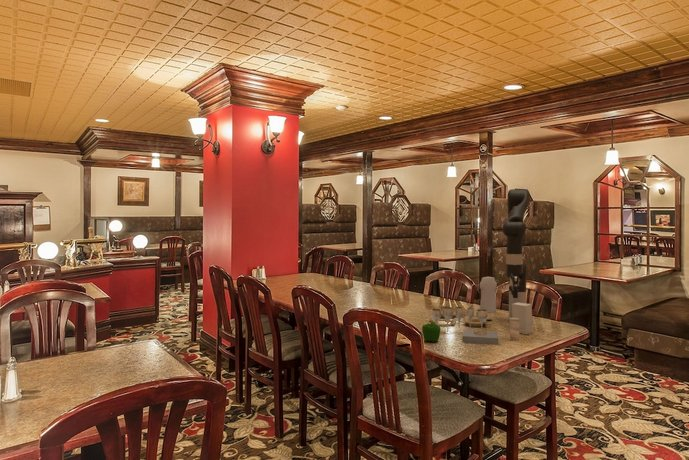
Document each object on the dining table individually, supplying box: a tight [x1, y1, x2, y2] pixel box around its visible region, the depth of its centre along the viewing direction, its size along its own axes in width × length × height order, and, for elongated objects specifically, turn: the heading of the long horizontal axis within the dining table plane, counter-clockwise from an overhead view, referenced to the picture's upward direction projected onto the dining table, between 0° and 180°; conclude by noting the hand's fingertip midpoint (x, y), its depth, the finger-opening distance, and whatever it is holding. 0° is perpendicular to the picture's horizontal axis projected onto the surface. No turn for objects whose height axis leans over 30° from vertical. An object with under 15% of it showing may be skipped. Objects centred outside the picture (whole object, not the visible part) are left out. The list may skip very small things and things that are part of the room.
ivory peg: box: [509, 318, 520, 341], centre depth 220 cm, size 4×4×10 cm
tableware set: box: [428, 307, 494, 328], centre depth 258 cm, size 35×29×4 cm
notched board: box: [462, 329, 499, 345], centre depth 220 cm, size 12×16×3 cm
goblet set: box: [431, 306, 489, 335], centre depth 233 cm, size 28×6×13 cm, turn 82°
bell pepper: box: [421, 321, 441, 343], centre depth 219 cm, size 8×8×10 cm
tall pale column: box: [479, 276, 498, 314], centre depth 279 cm, size 11×4×22 cm, turn 91°
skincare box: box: [512, 302, 534, 335], centre depth 232 cm, size 8×6×15 cm
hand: (514, 296), depth 220 cm, fingers open, 8 cm apart
